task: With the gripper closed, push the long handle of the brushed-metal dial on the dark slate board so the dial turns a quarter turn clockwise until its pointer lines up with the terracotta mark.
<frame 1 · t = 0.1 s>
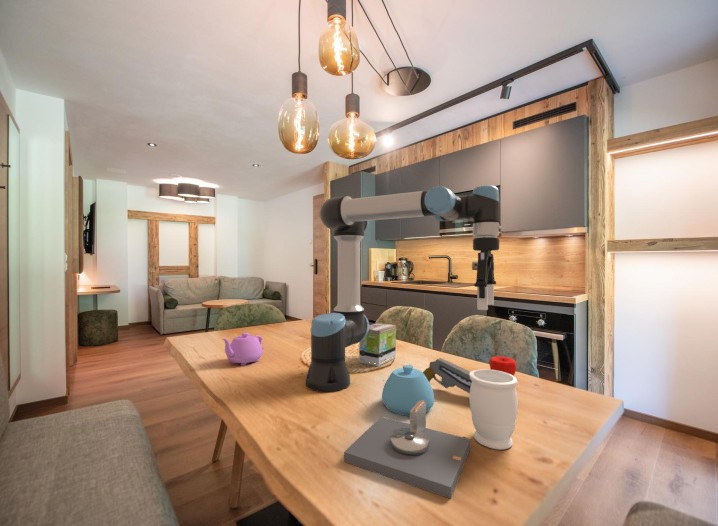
hand: (485, 307, 100), 28 cm above the table, fingers open, 13 cm apart
apple: (502, 381, 115), on the table
teapot: (243, 362, 136), on the table
jar: (493, 441, 76), on the table
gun: (458, 395, 103), on the table
tea box: (377, 361, 139), on the table
sugar bowl: (407, 406, 95), on the table
board: (409, 454, 70), on the table
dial: (413, 424, 72), point 5 cm above the table, hinge at 90.0°
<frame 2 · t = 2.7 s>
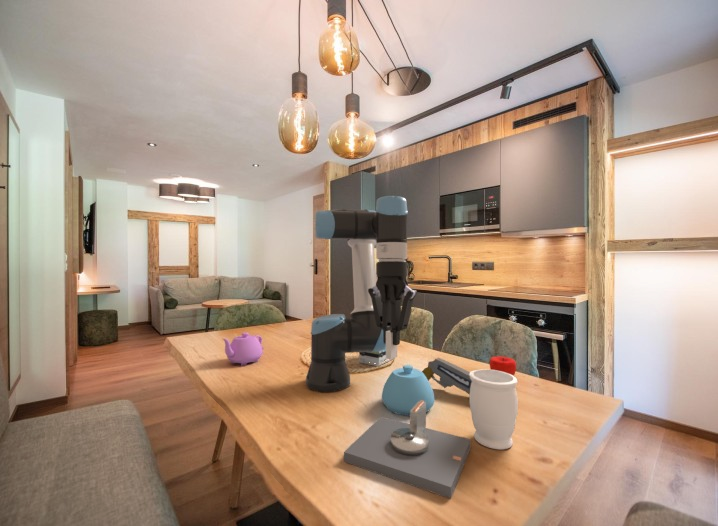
hand: (391, 357, 79), 18 cm above the table, fingers closed
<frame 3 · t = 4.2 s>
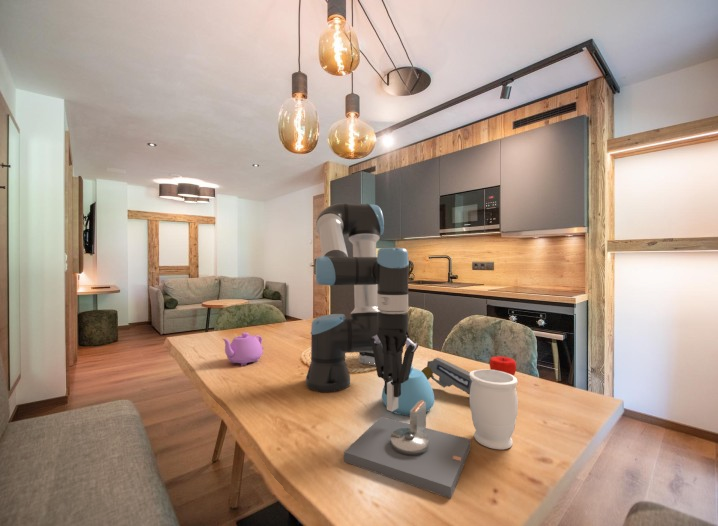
hand: (392, 408, 79), 6 cm above the table, fingers closed
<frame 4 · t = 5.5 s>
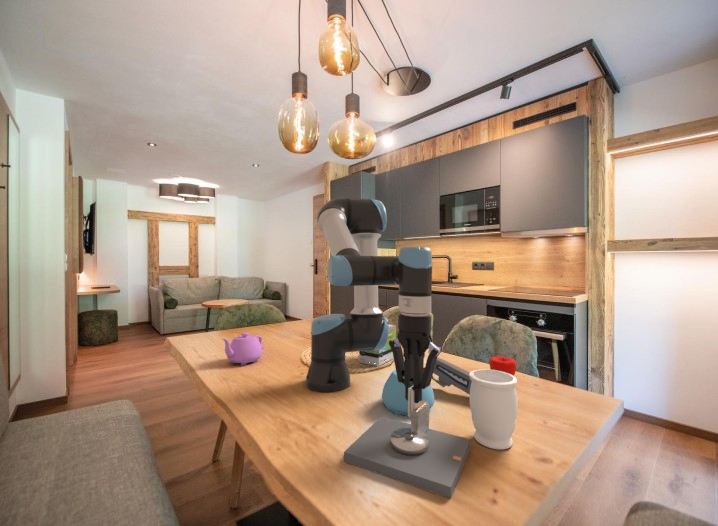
hand: (413, 415, 76), 6 cm above the table, fingers closed
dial: (414, 425, 72), point 5 cm above the table, hinge at 84.9°, touching gripper
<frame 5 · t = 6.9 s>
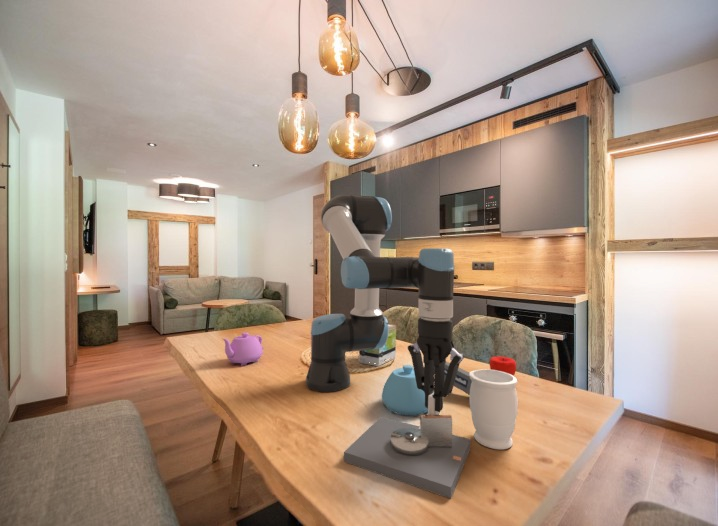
hand: (433, 423, 73), 6 cm above the table, fingers closed
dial: (421, 429, 70), point 5 cm above the table, hinge at 29.0°, touching gripper
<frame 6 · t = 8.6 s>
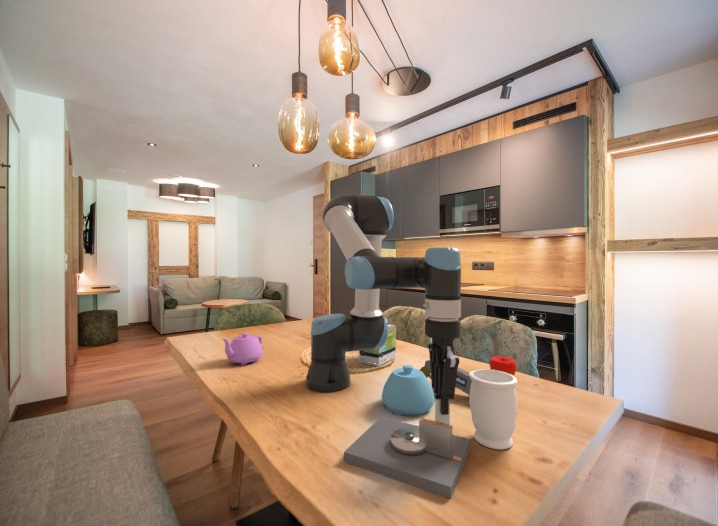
hand: (442, 426, 71), 6 cm above the table, fingers closed
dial: (420, 433, 69), point 5 cm above the table, hinge at -1.6°
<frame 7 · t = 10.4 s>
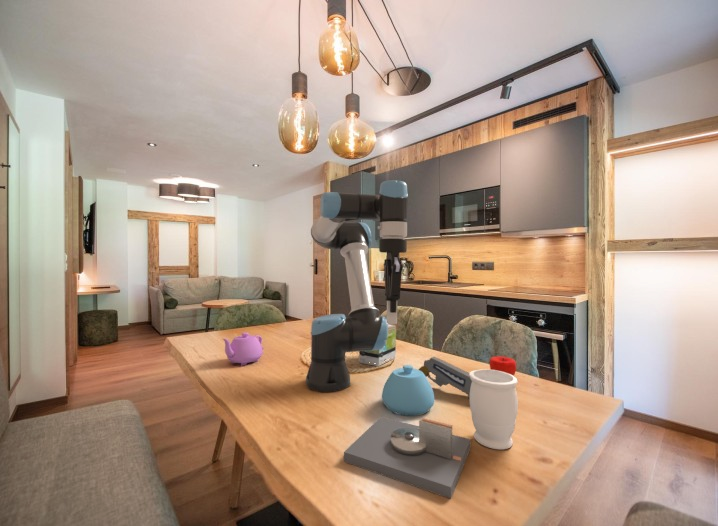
hand: (391, 323, 90), 25 cm above the table, fingers closed
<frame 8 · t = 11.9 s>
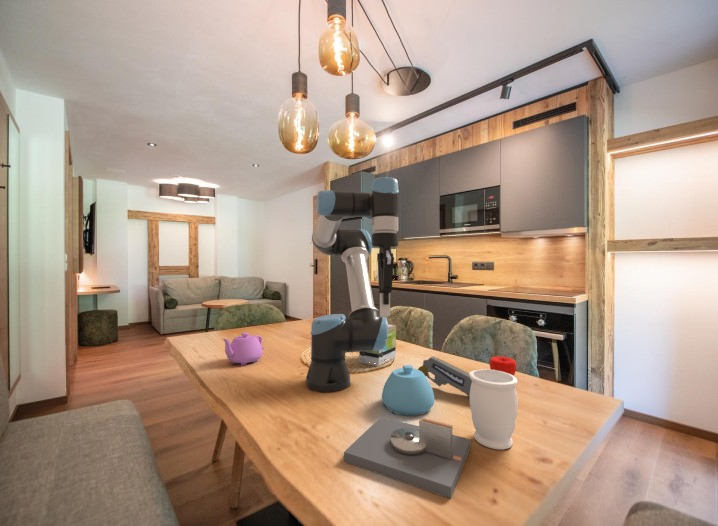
hand: (385, 315, 93), 26 cm above the table, fingers closed
at the end: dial at -2° (first picture: +90°) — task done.
